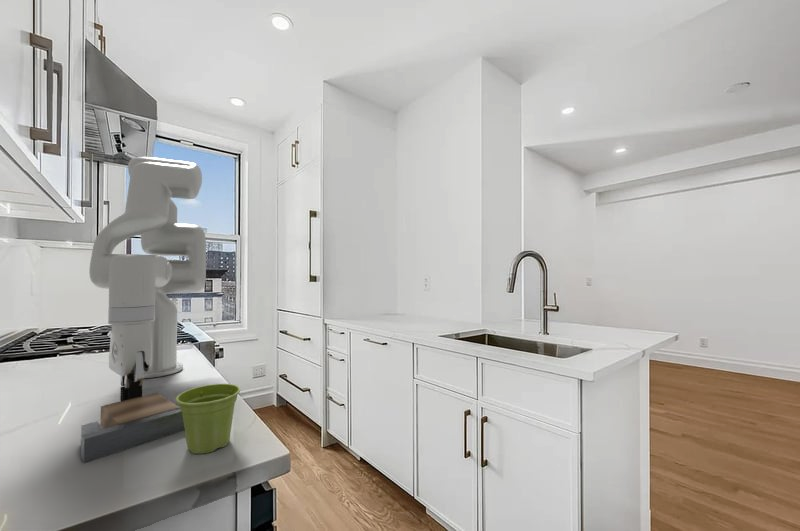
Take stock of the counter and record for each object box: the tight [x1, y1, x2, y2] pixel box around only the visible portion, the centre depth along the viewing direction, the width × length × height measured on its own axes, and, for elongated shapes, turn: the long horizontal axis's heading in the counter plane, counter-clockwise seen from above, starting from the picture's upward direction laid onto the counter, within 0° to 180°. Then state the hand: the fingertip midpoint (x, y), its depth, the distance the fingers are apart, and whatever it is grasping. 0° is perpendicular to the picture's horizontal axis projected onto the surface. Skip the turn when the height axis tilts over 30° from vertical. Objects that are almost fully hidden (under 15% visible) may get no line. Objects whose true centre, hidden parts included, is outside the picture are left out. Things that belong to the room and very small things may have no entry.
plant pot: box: [175, 383, 241, 455], centre depth 58 cm, size 9×9×9 cm
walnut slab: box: [100, 392, 180, 429], centre depth 64 cm, size 12×9×4 cm
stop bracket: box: [80, 408, 185, 463], centre depth 63 cm, size 8×20×4 cm, turn 142°
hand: (131, 405), depth 70 cm, fingers closed
